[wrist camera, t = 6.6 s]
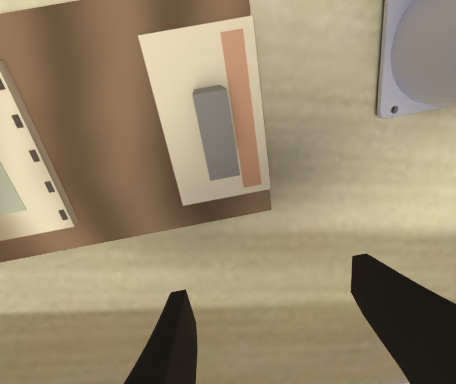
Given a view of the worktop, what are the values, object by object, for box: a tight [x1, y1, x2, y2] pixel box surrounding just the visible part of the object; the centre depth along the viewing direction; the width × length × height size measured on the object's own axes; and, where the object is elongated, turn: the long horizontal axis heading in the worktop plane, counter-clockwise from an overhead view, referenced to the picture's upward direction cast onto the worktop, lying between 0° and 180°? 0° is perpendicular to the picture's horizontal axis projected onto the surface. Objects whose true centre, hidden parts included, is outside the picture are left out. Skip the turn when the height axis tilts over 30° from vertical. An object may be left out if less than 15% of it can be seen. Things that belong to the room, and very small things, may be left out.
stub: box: [138, 15, 271, 206], centre depth 14 cm, size 6×10×4 cm, turn 9°
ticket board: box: [0, 0, 271, 262], centre depth 16 cm, size 22×14×2 cm, turn 99°
